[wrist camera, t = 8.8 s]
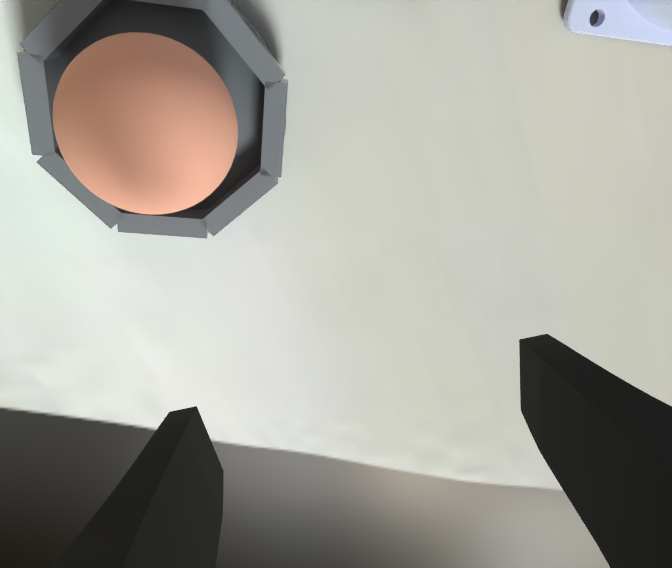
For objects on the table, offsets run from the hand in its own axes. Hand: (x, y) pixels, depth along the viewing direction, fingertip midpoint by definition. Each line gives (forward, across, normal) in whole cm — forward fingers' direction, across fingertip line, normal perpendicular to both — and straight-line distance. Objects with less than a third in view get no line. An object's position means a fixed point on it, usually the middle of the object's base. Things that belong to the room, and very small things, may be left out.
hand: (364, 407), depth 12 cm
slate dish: (+10, +4, -6) cm, 13 cm away
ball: (+10, +5, -6) cm, 12 cm away
